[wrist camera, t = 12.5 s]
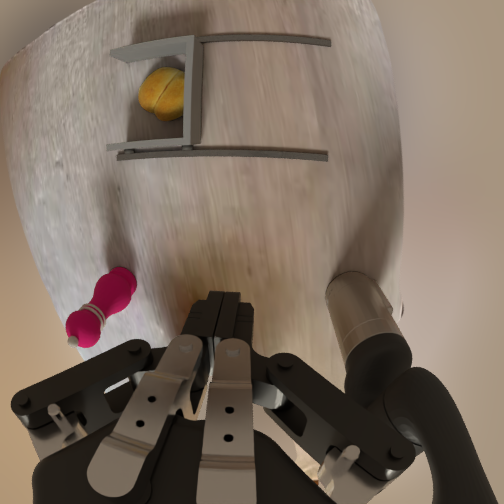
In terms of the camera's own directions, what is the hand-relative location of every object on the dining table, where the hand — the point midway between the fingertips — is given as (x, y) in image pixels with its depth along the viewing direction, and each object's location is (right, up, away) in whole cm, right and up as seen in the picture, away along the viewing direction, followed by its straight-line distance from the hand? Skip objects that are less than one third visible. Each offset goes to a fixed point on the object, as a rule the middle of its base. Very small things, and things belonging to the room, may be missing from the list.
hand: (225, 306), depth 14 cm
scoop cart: (-13, +27, +24) cm, 39 cm away
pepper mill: (-24, -3, +38) cm, 45 cm away
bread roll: (-12, +27, +24) cm, 39 cm away
